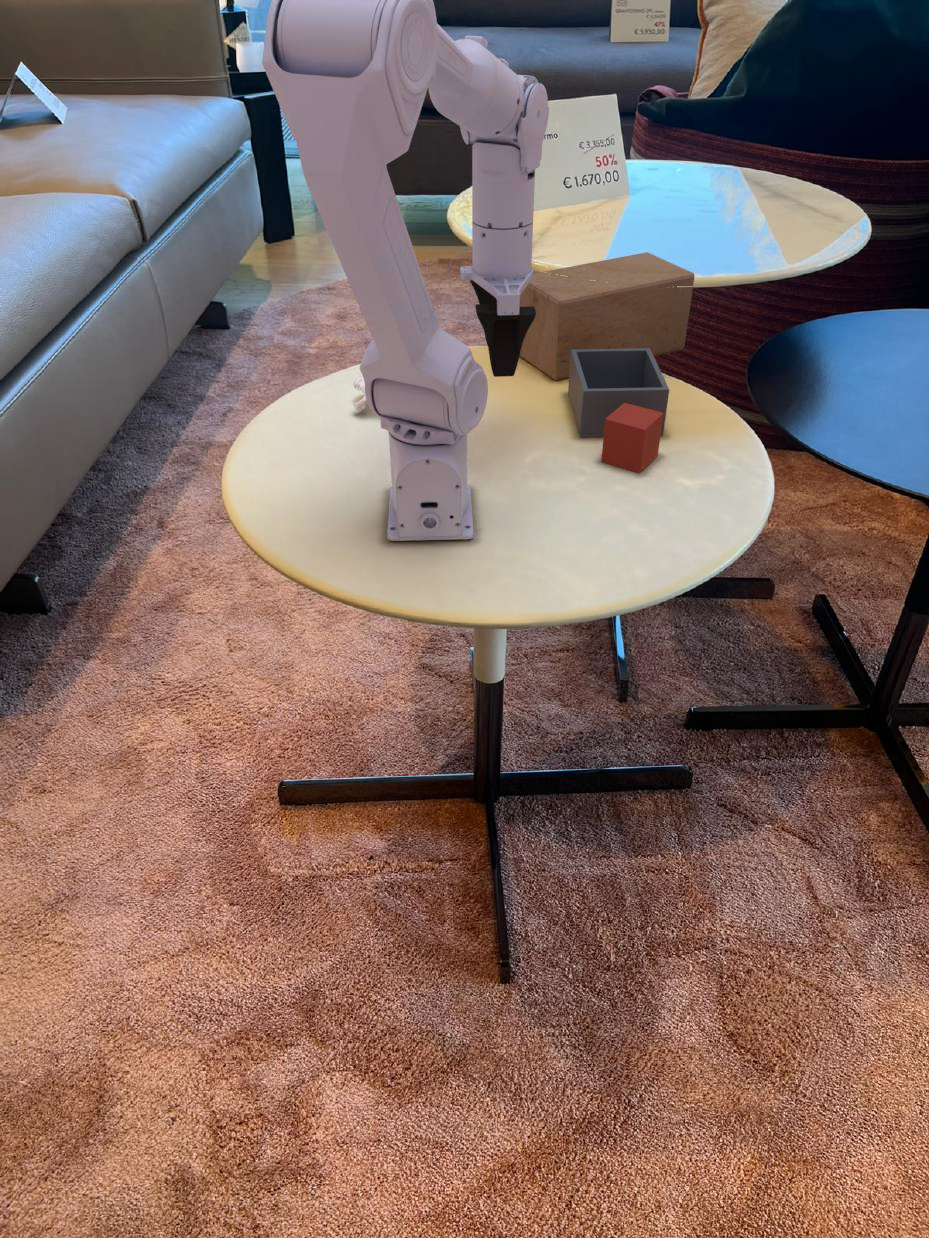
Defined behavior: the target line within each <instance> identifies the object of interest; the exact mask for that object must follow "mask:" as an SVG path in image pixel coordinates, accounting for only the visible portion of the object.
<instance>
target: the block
mask: <svg viewBox="0 0 929 1238" xmlns="http://www.w3.org/2000/svg"><path fill="white" fill-rule="evenodd" d="M663 414H664V413H662V412H658V411H654V410H651V409H647V408H643V407H639V406H635V405H631V404H628V403H623V404H622V405H621V406H620V407H619V408H618V409H616V410H615V411H614V412H613V413H612V414H610V415H609V416H608V417H607V418H606V419H605V427H604V437H602V438H603V440H602V447H601V448H602V449H601V458H600V459H601V460H600V462H601V463H603V464H607V465H611V466H613V467H617V468H620V469H624V470H627V471H631V472H634V473H637V474H641V473H642V472H643V471H644V470H645V469H646V468H647V467H648V466H649V465H650V464H651V463H652V462H653V461H654V460H655V459H656V458H657V457H658V456H659V450H660V443H661V437H662V436H661V428H662V421H663Z"/></svg>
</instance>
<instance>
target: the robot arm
mask: <svg viewBox="0 0 929 1238" xmlns="http://www.w3.org/2000/svg"><path fill="white" fill-rule="evenodd" d="M265 23H266V24H265V35H264V43H263V50H262V51H263V52H262V58H261V64H262V67H263V69H264V71H265V74H266V76H267V79H268V81H269V83H270V86H271V88H272V90H273V93H274V95H275V97H276V100H277V102H278V105H279V107H280V110H281V112H282V115H283V117H284V119H285V122H286V124H287V127H288V128H289V131H290V133H291V135H292V138H293V139H294V140H295V143H296V147H297V150H298V151H297V152H298V155H299V160H300V165H301V170H302V173H303V177H304V180H305V182H306V185H307V188H308V190H309V192H310V195H311V197H312V199H313V202H314V204H315V206H316V208H317V211H318V213H319V216H320V218H321V221H322V223H323V225H324V227H325V229H326V232H327V235H328V237H329V239H330V241H331V243H332V246H333V249H334V251H335V253H336V256H337V258H338V261H339V262H340V264H341V267H342V269H343V272H344V274H345V276H346V279H347V281H348V284H349V286H350V288H351V289H352V290H351V291H352V293H353V295H354V297H355V299H356V303H357V304H358V306H359V309H360V311H361V313H362V316H363V318H364V321H365V323H366V326H367V327H368V330H369V332H370V334H371V337H372V339H371V340H370V342H369V344H368V345H367V347H366V349H365V351H364V353H363V356H362V359H361V363H360V365H359V371H360V373H361V375H362V377H363V378H364V382H365V396H366V400H367V401H366V403H367V406H368V408H369V410H370V412H371V413H372V414H373V415H374V416H376V417H379V418H380V428H381V429H382V430H385V431H387V432H388V447H389V460H390V461H389V462H390V476H391V487H390V488H389V501H388V502H389V504H388V518H387V519H388V520H387V532H386V537H387V540H388V541H391V542H400V541H401V542H403V541H407V542H409V541H449V540H450V541H451V540H453V541H454V540H471V539H473V538H474V522H473V520H474V519H473V506H472V489H471V485H470V484H469V483H468V435H469V434H470V433H471V432H472V431H473V430H474V429H476V427H477V426H479V424H480V422H481V420H482V418H483V415H484V413H485V410H486V407H487V401H488V394H489V384H488V378H487V375H486V373H485V370H484V368H483V367H482V365H481V364H480V363H478V362H476V360H475V358H474V356H473V353H472V349H471V348H470V347H469V346H468V345H466V344H465V343H463V342H462V341H460V340H459V339H458V338H456V337H454V336H453V335H451V333H449V332H447V331H445V330H444V329H443V328H442V327H440V325H439V324H440V323H439V321H438V319H437V316H436V312H435V309H434V307H433V303H432V299H431V298H430V294H429V292H428V288H427V285H426V282H425V279H424V276H423V274H422V270H421V268H420V267H421V266H420V264H419V261H418V258H417V255H416V251H415V249H414V246H413V243H412V241H411V238H410V235H409V232H408V228H407V225H406V223H405V220H404V216H403V214H402V211H401V207H400V204H399V201H398V199H397V196H396V193H395V190H394V187H393V183H392V181H391V177H390V174H389V172H388V167H387V164H389V163H391V162H393V161H395V160H396V159H398V158H399V157H401V156H402V155H404V154H405V153H407V152H409V149H410V145H411V143H412V139H413V136H414V132H415V129H416V127H417V124H418V121H419V118H420V115H421V112H422V107H423V105H424V102H425V98H426V96H427V93H428V94H429V98H430V101H431V103H432V105H433V107H434V108H435V109H436V111H437V112H438V113H439V114H440V115H442V116H443V117H445V118H446V119H448V120H450V121H451V122H453V123H454V124H456V125H457V126H459V128H460V129H459V130H460V133H461V137H462V140H463V142H464V143H465V144H466V145H469V144H470V145H472V146H471V152H472V153H471V156H472V158H471V159H472V161H471V162H472V164H471V166H472V168H471V170H472V171H471V172H472V173H471V177H472V178H471V180H472V181H471V182H472V183H471V186H472V187H471V191H472V193H471V194H472V195H471V196H472V197H471V198H472V199H471V201H472V203H471V204H472V206H471V207H472V211H471V215H472V217H471V219H472V220H471V223H472V224H471V225H472V226H471V230H472V231H471V232H472V233H471V234H472V235H471V237H472V238H471V241H472V243H471V245H472V246H471V247H472V248H471V249H472V250H471V253H472V257H471V258H472V265H465V266H464V265H463V266H460V269H459V274H460V279H461V280H463V281H469V282H470V284H471V286H472V288H473V291H474V293H475V295H476V297H477V301H478V303H477V304H475V312H476V316H477V319H478V321H479V323H480V325H481V328H482V330H483V333H484V337H485V338H484V339H485V342H486V345H487V349H488V356H489V363H490V369H491V372H492V375H493V377H495V378H498V377H501V378H502V377H503V378H504V377H514V376H515V374H516V371H517V367H518V363H519V360H520V357H521V356H520V351H521V347H522V344H523V341H524V338H525V335H526V333H527V331H528V329H529V327H530V325H531V324H532V322H533V321H534V318H535V316H536V310H535V307H534V306H530V307H520V295H521V294H522V292H523V291H524V290H525V288H526V287H527V285H528V284H529V283H530V281H531V280H532V278H533V274H534V267H533V265H532V264H533V263H532V262H533V240H534V239H533V237H534V235H533V234H534V214H535V213H534V208H535V185H536V184H535V183H536V182H535V181H536V169H538V168H539V167H540V166H541V160H542V154H543V153H542V152H543V142H544V139H545V134H546V131H547V127H548V121H549V114H550V107H549V98H548V93H547V89H546V87H545V85H544V84H543V83H542V82H539V80H538V79H537V77H536V76H534V75H527V74H517V73H516V72H515V71H514V70H512V69H511V68H510V67H509V66H510V65H509V62H508V61H507V60H506V59H504V58H498V57H497V56H495V54H493V53H492V52H491V51H489V49H488V45H489V42H488V40H486V39H485V38H484V37H483V36H482V35H481V36H480V35H465V36H464V38H459V39H457V40H454V39H453V38H452V37H451V36H450V35H449V34H448V33H447V31H446V30H445V29H443V28H442V26H441V25H440V24H438V20H437V13H436V7H435V2H434V0H271V2H270V4H269V9H268V12H267V17H266V22H265ZM427 91H428V92H427Z"/></svg>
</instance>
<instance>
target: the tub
mask: <svg viewBox="0 0 929 1238" xmlns="http://www.w3.org/2000/svg"><path fill="white" fill-rule="evenodd" d="M567 387H568V388H567V396H568V399H569V403H570V406H571V411H572V414H573V417H574V422H575V425H576V428H577V432H578V436H579V438H580V439H582V438H583V439H584V438H604V427H605V419H606V418H607V417H608V416H609V415H610V414H612V413H613V412H614V411H615V410H616V409H618V408H619V407H620V406H621V405H622V404H623V403H628V404H631V405H635V406H639V407H643V408H647V409H651V410H654V411H658V412H662V413H664V414H663V421H662V428H661V436H660V437H663V436H664V431H665V423H666V417H667V410H668V403H669V395H670V388H669V386H668V384H667V382H666V379H665V377H664V375H663V373H662V371H661V368H660V367H659V365H658V361H657V360H656V358H655V357H654V356H653V354H652V352H651V350H650V348H634V349H578V350H571V356H570V371H569V377H568V385H567Z"/></svg>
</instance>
